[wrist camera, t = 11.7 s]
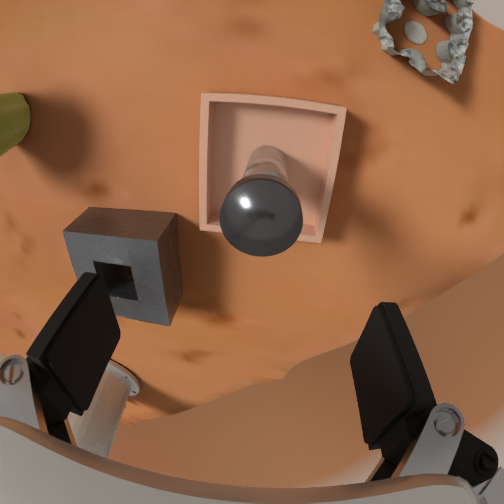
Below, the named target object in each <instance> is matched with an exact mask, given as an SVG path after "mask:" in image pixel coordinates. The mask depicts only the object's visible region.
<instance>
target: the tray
mask: <svg viewBox="0 0 504 504" xmlns="http://www.w3.org/2000/svg"><path fill="white" fill-rule="evenodd" d="M346 110H347V108H345V107H343V106H340V105H336V104H330V103H325V102H319V101H312V100H305V99H298V98H291V97H282V96H273V95H262V94H248V93H230V92H205V93H201V111H200V148H199V221H200V230H204V231H214V232H222V230H221V227H220V220H219V216H220V210H221V207H222V204H223V202H224V199H225V197H226V195H227V193H228V191H229V189H230V188H231V187H232V186H233V185H234V184H235V183H236V182H237V181H239V180H240V179H242V177H243V174H244V172H245V169H246V166H247V163H248V160H249V157H250V155H251V153H252V152H253V151H254V150H255V149H257V148H258V147H261V146H266V145H268V146H273V147H276V148H278V149H279V150H280V151H281V152H282V153H283V154H284V156H285V159H286V165H287V173H288V181H289V184H290V185H291V186H292V187H293V188H294V190H295V191H296V193H297V195H298V197H299V199H300V203H301V208H302V214H303V227H302V230H301V233H300V235H299V237H298V239H297V240H298V241H307V242H316V243H321V242H322V238H323V233H324V229H325V224H326V220H327V215H328V210H329V206H330V201H331V196H332V191H333V186H334V181H335V176H336V170H337V165H338V159H339V154H340V148H341V142H342V136H343V130H344V123H345V117H346Z"/></svg>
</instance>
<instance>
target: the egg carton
mask: <svg viewBox="0 0 504 504" xmlns="http://www.w3.org/2000/svg"><path fill="white" fill-rule="evenodd" d="M452 1H453V3H454V5H455V6H456V7H457V8H458V13H455V14H451V15H447V16H446V18H445V26H446V28H447V30H448V31H449V33H450V40H449V41H442V42H439V43H438V44H437V46H436V53H437V56H438V58H439V60H440V61H441V62H442V65H441V68H440V70H426V66H427V65H426V60H425V58H424V57H423V55H422V54H421V53H420V52H419V51H417V50H415V49H411V48H409V49H403V50H399V51H395V50H394V49H393V48H394V47H395V46H394V40H393V37H392V36H390V34H389V33H388V32H387V30H386V28H385V24H388V23H391V22H393V21H395V20H398V19H399V18H400V17H401V16H402V12H403V10H404V9H405V7H404V6H403V5H402V3H401V1H400V0H384V3H383V7H382V11H381V15H380V19H379V22H377V23H376V24H375V25H374V28H373V33H374V34H376V35H377V36H378V37H379V41H380V42H381V44H382V50H383V51H385V52H386V53H388V54H389V55H392V56H393V55H398V54H400V55H402V56H405V57H409V63H410V64H411V65H412V66H414V67H415V68H416V70H417V71H418V72H420V73H421V74H423V75H424V76H437V75H440V76H441V77H442V78H443V79H445V80H447V81H448V82H450V83H451V84H455V83H457V82H458V78H459V76H461V74H462V70H463V67H464V65H465V60H466V56H465V55H464V53H465V51H466V49H467V47H468V45H469V43H468V40H469V37H470V33H471V31H472V28H473V17H472V13H473V11H472V8H471V5H472V4H473V3H474V0H452ZM413 3H414V6H415V7H416V9H417V10H418V11H419V12H420V13H421V14H423V15H425V16H433V15H437V14H440V13H447V2H446V1H445V0H413ZM404 33H405V35H406V37H407V39H408V40H409V41H411V42H412V43H414V44H423V43H424V42H425V41H426V38H427V33H426V30H425V28H424V27H423V26H422V25H421V24H420V23H418V22H416V21H408V22H407V23H405V25H404Z"/></svg>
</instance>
